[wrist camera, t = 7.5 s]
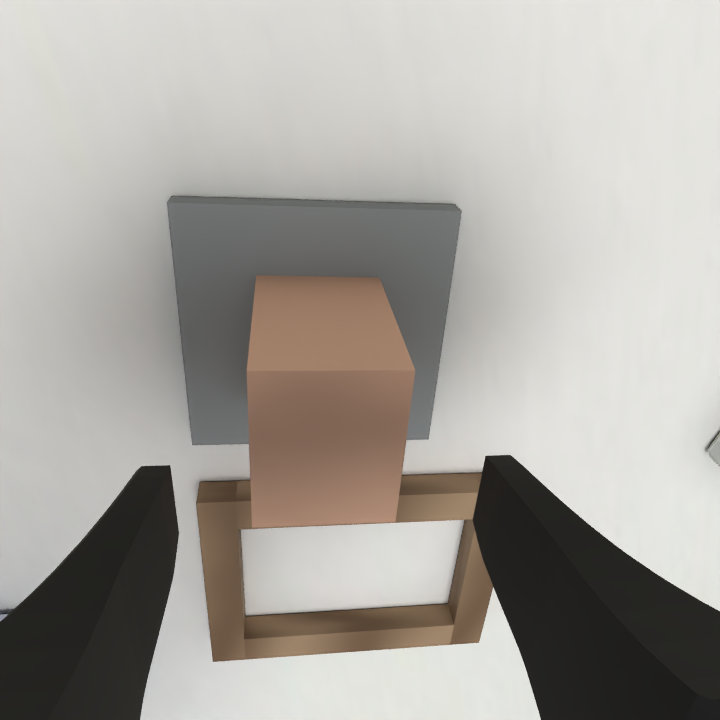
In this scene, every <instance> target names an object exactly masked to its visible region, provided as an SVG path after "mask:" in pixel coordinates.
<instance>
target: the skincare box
mask: <svg viewBox="0 0 720 720" xmlns="http://www.w3.org/2000/svg"><path fill="white" fill-rule="evenodd" d="M708 452H709V455H710V457H711V458H712V460H713V461H714V462H716V463H717V464H718V465H719V466H720V433H719V434H718V435H717V437H716V438H715V440H714V441H713V442H712V444H711V445H710V447H709V448H708Z"/></svg>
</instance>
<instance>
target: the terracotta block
mask: <svg viewBox="0 0 720 720" xmlns="http://www.w3.org/2000/svg"><path fill="white" fill-rule="evenodd" d="M414 377H415V368H414V365H413V363H412V360H411V358H410V355H409V353H408V350H407V347H406V345H405V342H404V340H403V337H402V335H401V332H400V329H399V327H398V324H397V322H396V319H395V317H394V314H393V311H392V309H391V306H390V304H389V301H388V299H387V296H386V293H385V291H384V288H383V286H382V283H381V281H380V278H375V277H323V276H271V275H256V283H255V293H254V303H253V313H252V323H251V332H250V342H249V352H248V362H247V396H248V425H249V455H250V484H251V513H252V528H257V527H284V526H310V525H336V524H363V523H389V522H396V514H397V507H398V499H399V491H400V484H401V476H402V469H403V461H404V453H405V446H406V438H407V431H408V423H409V415H410V408H411V400H412V392H413V385H414Z"/></svg>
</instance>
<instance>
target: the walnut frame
mask: <svg viewBox="0 0 720 720" xmlns="http://www.w3.org/2000/svg"><path fill="white" fill-rule="evenodd" d="M481 476H482V473H463V474H433V475H402V476H401V484H400V491H399V499H398V507H397V514H396V522H389V523H398V522H421V521H444V520H465V522H464V527H463V532H462V537H461V541H460V546H459V551H458V556H457V561H456V566H455V571H454V576H453V581H452V586H451V591H450V596H449V601H448V604H440V605H424V606H408V607H392V608H376V609H360V610H344V611H328V612H312V613H297V614H281V615H265V616H249V617H245V599H244V582H243V565H242V547H241V530H240V529H260V528H283V527H257V528H252V513H251V484H250V481H219V482H200V485H199V490H198V496H197V501H196V506H197V515H198V525H199V534H200V544H201V553H202V563H203V572H204V581H205V591H206V600H207V610H208V619H209V629H210V638H211V648H212V657H213V662H216V661H230V660H244V659H258V658H272V657H286V656H299V655H313V654H327V653H341V652H355V651H369V650H383V649H396V648H410V647H424V646H438V645H452V644H466V643H479V640H480V636H481V632H482V629H483V625H484V621H485V617H486V613H487V609H488V605H489V601H490V597H491V593H492V589H493V584H492V582H491V579H490V577H489V574H488V572H487V569H486V567H485V564H484V561H483V559H482V555H481V551H480V548H479V544H478V540H477V536H476V532H475V528H474V524H473V515H474V510H475V505H476V500H477V496H478V491H479V486H480V481H481ZM363 524H375V523H363ZM336 525H352V524H336ZM310 526H329V525H310ZM284 527H306V526H284Z"/></svg>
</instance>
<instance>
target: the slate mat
mask: <svg viewBox="0 0 720 720" xmlns="http://www.w3.org/2000/svg"><path fill="white" fill-rule="evenodd" d="M167 206H168V216H169V225H170V235H171V245H172V254H173V264H174V274H175V283H176V293H177V303H178V312H179V322H180V332H181V341H182V351H183V361H184V370H185V380H186V390H187V399H188V409H189V419H190V428H191V438H192V445H220V444H249V425H248V396H247V362H248V352H249V342H250V332H251V323H252V313H253V303H254V293H255V283H256V275H271V276H323V277H375V278H380V281H381V283H382V286H383V288H384V291H385V293H386V296H387V299H388V301H389V304H390V306H391V309H392V311H393V314H394V317H395V319H396V322H397V324H398V327H399V329H400V332H401V335H402V337H403V340H404V342H405V345H406V347H407V350H408V353H409V355H410V358H411V360H412V363H413V365H414V368H415V377H414V385H413V392H412V400H411V408H410V415H409V423H408V431H407V438H406V440H423V439H429V432H430V425H431V418H432V411H433V404H434V398H435V391H436V384H437V377H438V370H439V363H440V356H441V349H442V343H443V336H444V329H445V322H446V315H447V308H448V301H449V295H450V288H451V281H452V274H453V267H454V260H455V253H456V246H457V240H458V233H459V226H460V219H461V212H462V211H461V210H460V209H459V208H458V207H457V206H456V205H455V204H425V203H391V202H357V201H323V200H289V199H255V198H221V197H187V196H171V198H170V199H169V201H168V202H167Z"/></svg>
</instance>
